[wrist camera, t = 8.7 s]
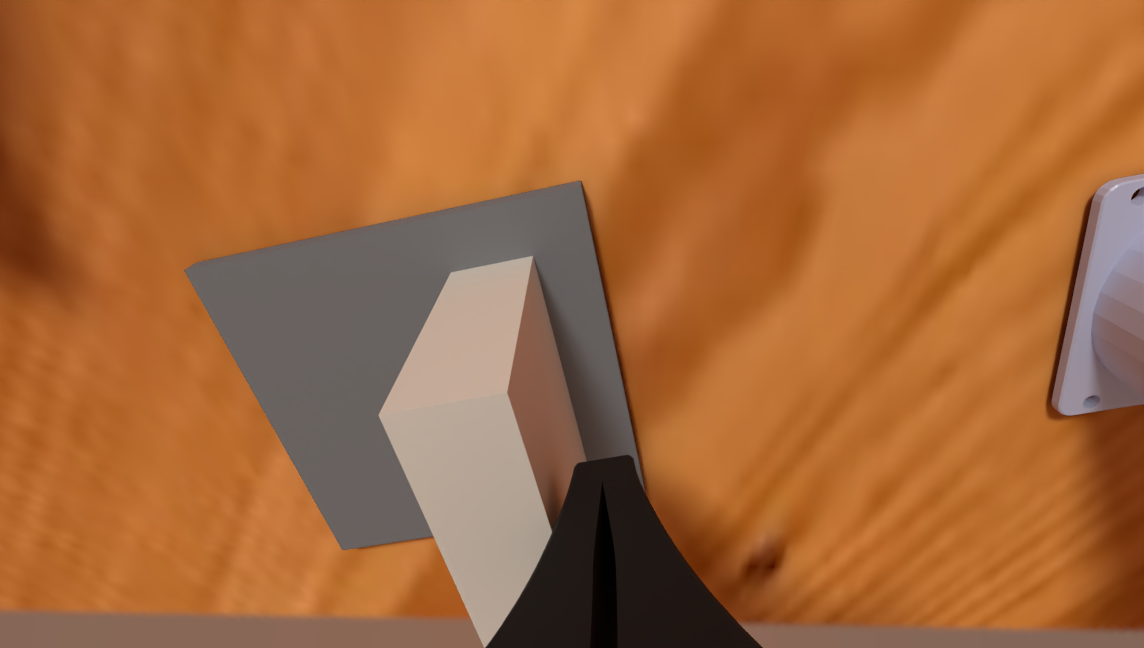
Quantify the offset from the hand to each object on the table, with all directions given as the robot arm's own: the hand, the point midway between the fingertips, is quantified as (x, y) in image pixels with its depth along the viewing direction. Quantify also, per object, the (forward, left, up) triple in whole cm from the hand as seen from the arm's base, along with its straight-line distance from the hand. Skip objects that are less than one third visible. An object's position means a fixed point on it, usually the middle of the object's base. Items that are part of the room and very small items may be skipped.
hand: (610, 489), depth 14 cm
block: (+2, 0, -5) cm, 6 cm away
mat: (+5, 0, -6) cm, 8 cm away
